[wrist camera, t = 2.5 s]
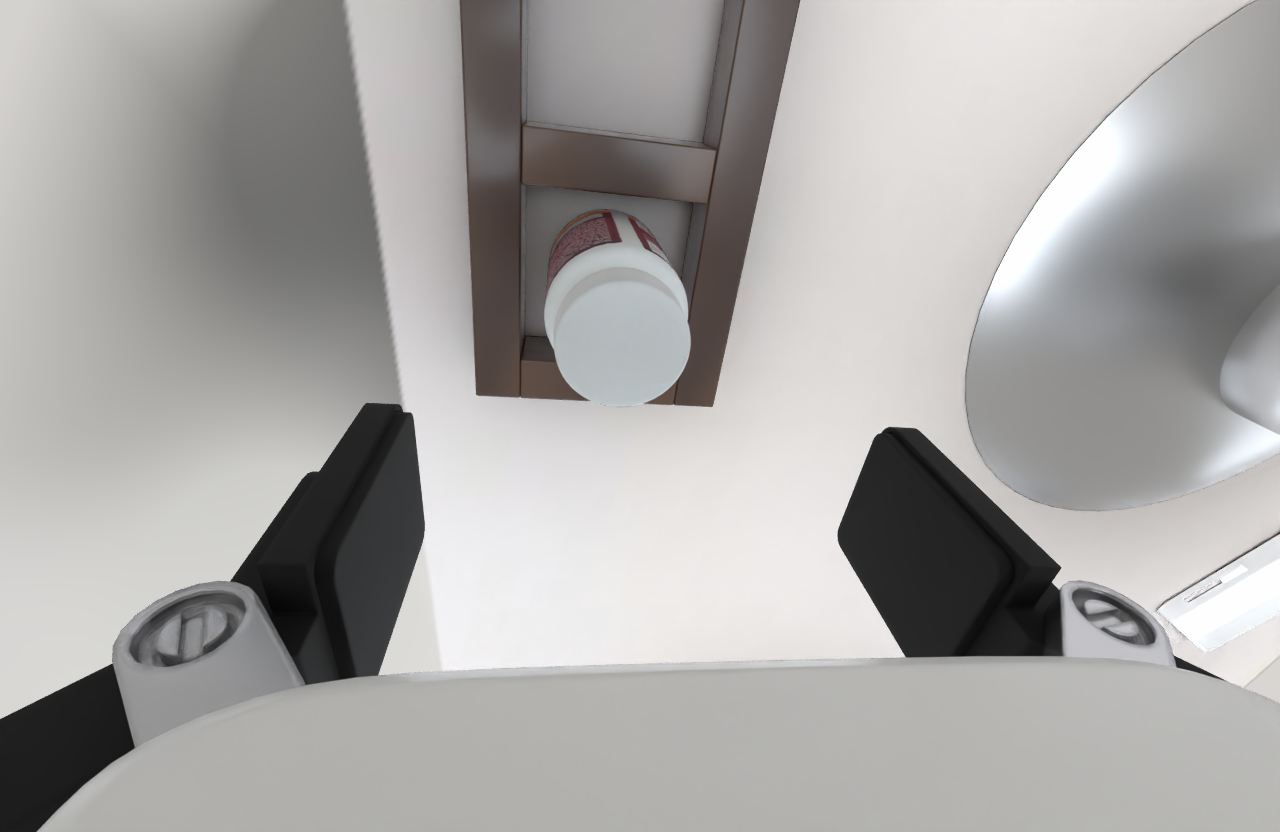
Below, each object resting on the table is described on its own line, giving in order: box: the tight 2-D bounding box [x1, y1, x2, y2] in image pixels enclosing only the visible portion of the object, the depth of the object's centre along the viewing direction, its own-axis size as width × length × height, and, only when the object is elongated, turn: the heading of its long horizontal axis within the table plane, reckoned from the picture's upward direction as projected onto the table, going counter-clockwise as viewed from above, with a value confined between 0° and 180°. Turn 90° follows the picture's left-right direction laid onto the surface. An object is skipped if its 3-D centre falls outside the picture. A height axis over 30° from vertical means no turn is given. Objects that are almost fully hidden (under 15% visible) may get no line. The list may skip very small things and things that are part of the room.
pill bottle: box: [544, 210, 691, 407], centre depth 19 cm, size 5×5×8 cm
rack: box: [460, 0, 800, 407], centre depth 20 cm, size 10×19×2 cm, turn 173°
